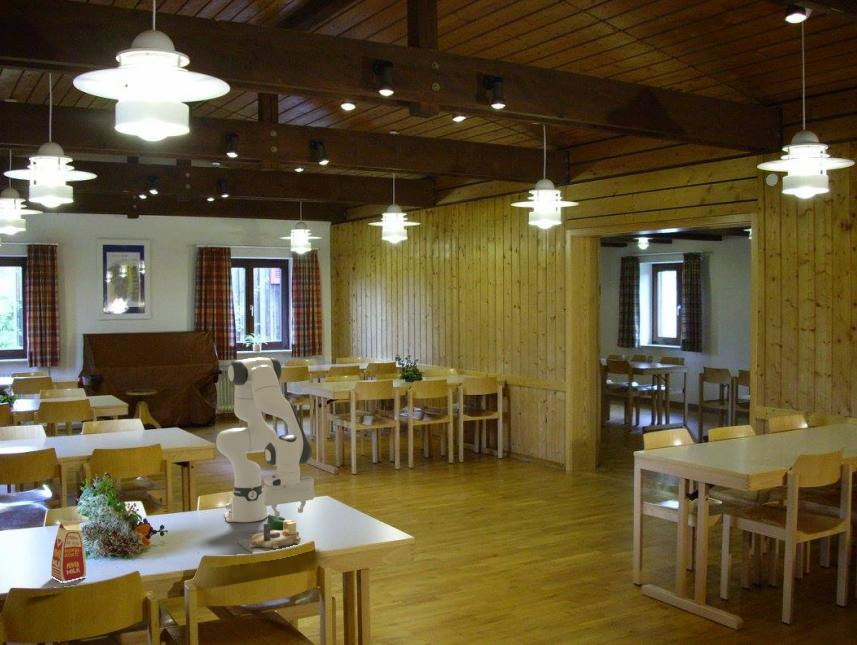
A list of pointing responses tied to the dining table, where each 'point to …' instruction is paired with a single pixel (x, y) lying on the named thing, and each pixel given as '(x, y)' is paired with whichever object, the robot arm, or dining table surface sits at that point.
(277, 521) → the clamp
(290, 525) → the beige small block
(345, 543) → the dining table surface
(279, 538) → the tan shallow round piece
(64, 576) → the milk carton
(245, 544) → the base plate
